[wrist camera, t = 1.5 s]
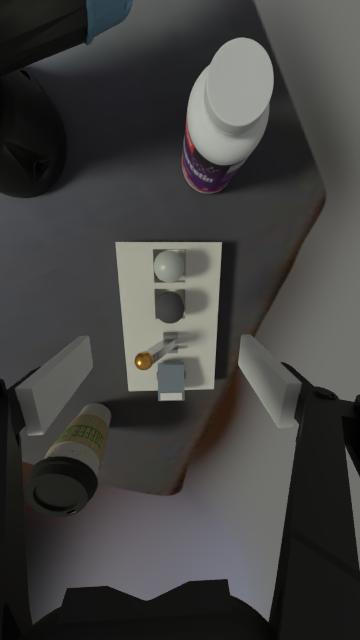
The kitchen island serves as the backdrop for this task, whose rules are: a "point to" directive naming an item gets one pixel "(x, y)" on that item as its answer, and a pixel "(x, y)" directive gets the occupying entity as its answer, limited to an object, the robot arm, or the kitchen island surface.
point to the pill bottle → (226, 114)
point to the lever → (153, 354)
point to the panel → (189, 332)
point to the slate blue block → (170, 381)
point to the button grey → (169, 266)
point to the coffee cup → (70, 465)
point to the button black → (169, 307)
